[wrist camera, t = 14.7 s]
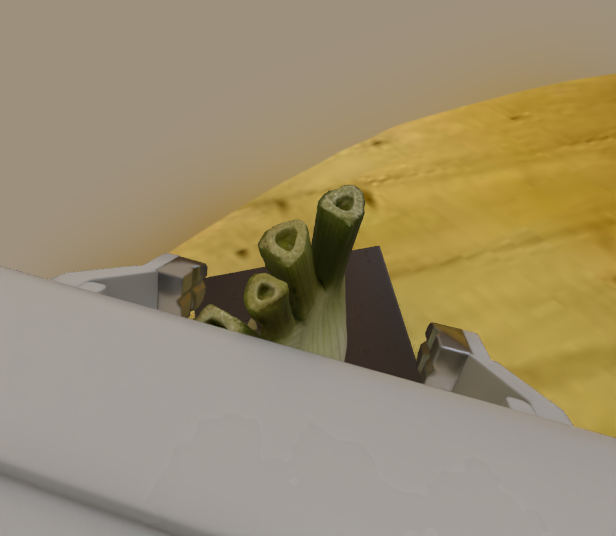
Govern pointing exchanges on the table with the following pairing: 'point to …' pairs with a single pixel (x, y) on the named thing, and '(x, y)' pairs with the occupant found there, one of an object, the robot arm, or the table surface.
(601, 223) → the table surface
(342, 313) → the fennel bulb
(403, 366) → the stand
